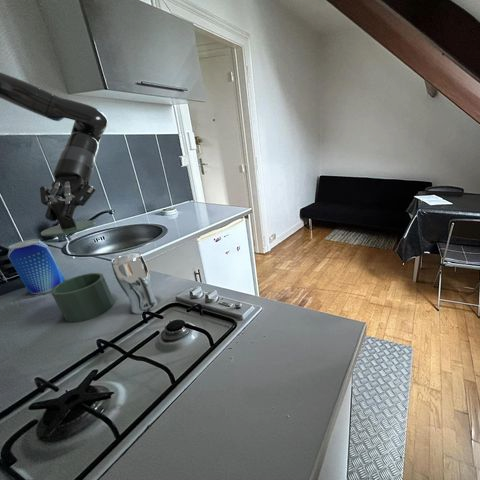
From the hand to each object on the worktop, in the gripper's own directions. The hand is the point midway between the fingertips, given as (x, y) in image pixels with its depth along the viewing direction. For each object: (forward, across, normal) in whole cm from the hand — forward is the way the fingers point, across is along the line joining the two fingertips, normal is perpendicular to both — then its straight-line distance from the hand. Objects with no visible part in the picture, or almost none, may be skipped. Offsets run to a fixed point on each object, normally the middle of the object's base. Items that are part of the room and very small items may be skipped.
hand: (57, 218), depth 69 cm
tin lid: (+1, 0, +4) cm, 4 cm away
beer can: (+13, -18, +21) cm, 30 cm away
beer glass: (+23, +20, +11) cm, 33 cm away
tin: (+22, +5, +12) cm, 26 cm away
